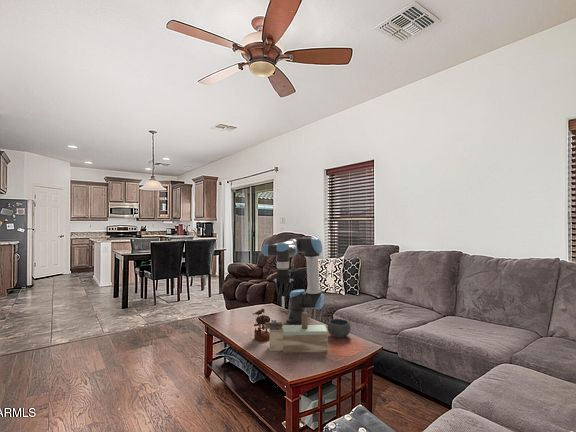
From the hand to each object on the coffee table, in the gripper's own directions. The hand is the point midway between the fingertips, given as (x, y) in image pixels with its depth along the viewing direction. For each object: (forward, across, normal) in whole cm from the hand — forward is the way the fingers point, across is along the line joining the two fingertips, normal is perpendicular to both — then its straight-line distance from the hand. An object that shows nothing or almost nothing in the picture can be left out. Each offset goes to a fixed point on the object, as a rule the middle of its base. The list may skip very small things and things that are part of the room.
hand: (283, 307), depth 192 cm
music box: (+25, -14, +16) cm, 33 cm away
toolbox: (+24, +9, 0) cm, 26 cm away
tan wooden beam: (+12, -6, 0) cm, 13 cm away
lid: (+14, +13, 0) cm, 19 cm away
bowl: (+25, +36, +20) cm, 48 cm away
